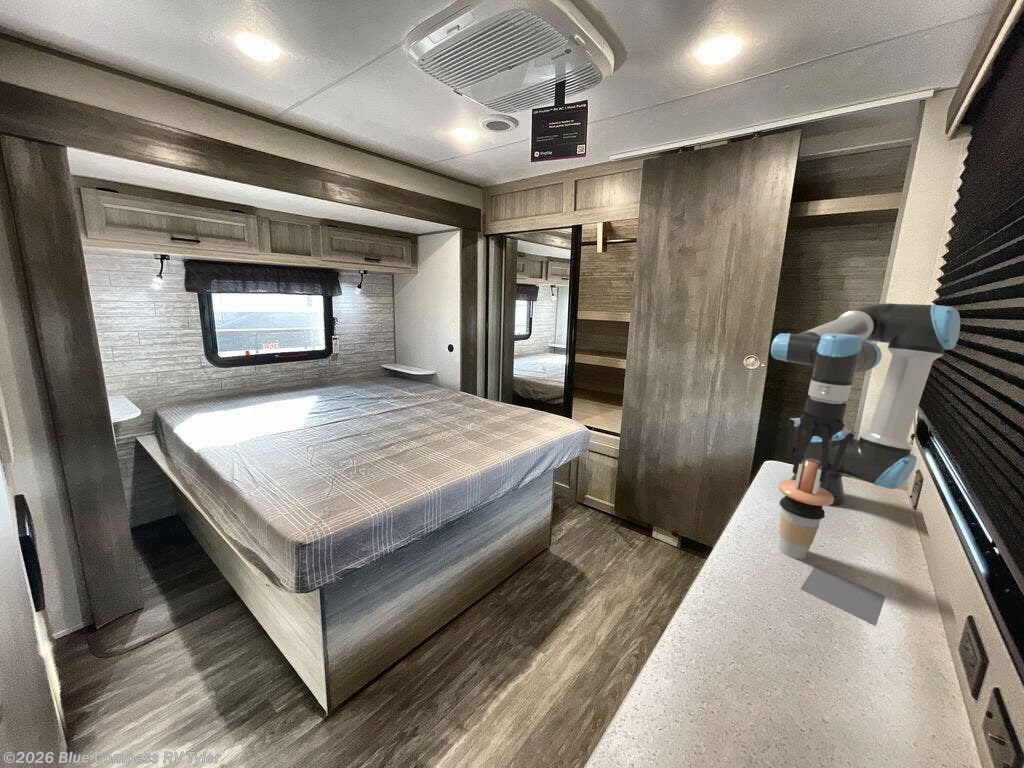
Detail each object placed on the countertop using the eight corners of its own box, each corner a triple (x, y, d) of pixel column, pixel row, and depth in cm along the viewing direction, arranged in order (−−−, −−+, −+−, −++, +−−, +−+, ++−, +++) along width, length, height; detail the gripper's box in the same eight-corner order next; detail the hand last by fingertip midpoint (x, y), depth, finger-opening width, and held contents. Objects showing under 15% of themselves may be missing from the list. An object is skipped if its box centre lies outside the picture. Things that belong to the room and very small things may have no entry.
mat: (815, 567, 99) (815, 565, 99) (884, 598, 90) (885, 595, 90) (799, 591, 91) (800, 588, 91) (874, 628, 81) (875, 625, 81)
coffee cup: (821, 568, 99) (834, 514, 95) (779, 562, 101) (791, 508, 97) (802, 545, 108) (814, 495, 104) (764, 539, 110) (774, 490, 106)
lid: (786, 479, 108) (793, 448, 106) (838, 496, 100) (846, 463, 98) (772, 491, 101) (779, 458, 99) (826, 511, 92) (835, 475, 90)
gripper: (782, 394, 98) (765, 481, 103) (868, 410, 86) (843, 508, 92) (792, 390, 103) (774, 473, 108) (874, 405, 91) (850, 497, 96)
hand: (806, 489), depth 100 cm, fingers closed on lid, 3 cm apart
